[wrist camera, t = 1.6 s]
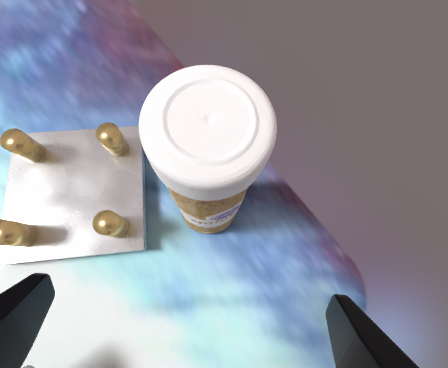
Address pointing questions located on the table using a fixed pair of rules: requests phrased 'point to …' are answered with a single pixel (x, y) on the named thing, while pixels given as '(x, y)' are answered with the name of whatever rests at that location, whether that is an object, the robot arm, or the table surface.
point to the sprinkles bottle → (207, 140)
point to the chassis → (73, 194)
